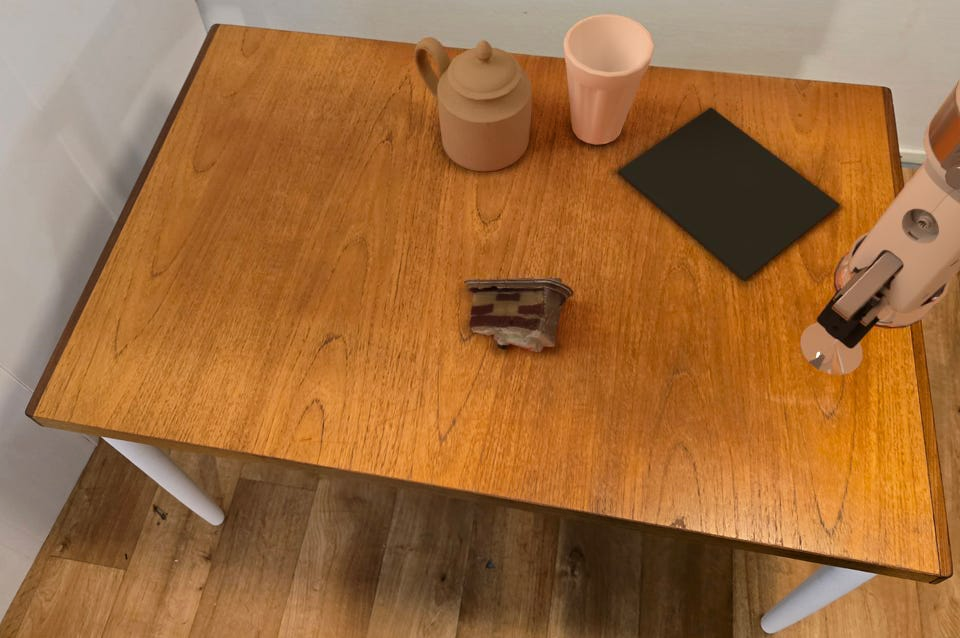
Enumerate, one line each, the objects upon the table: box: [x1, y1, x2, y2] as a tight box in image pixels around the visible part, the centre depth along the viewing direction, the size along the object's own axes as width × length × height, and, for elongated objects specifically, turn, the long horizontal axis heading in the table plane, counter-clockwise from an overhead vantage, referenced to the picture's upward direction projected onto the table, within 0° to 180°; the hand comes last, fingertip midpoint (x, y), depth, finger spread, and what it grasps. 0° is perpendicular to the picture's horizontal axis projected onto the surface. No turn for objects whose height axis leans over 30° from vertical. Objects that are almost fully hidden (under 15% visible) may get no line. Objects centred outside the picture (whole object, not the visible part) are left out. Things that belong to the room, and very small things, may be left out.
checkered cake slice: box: [462, 276, 575, 353], centre depth 78 cm, size 10×7×12 cm
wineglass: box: [800, 231, 951, 376], centre depth 56 cm, size 7×7×12 cm
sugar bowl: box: [413, 36, 533, 173], centre depth 87 cm, size 15×11×15 cm
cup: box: [563, 13, 656, 146], centre depth 88 cm, size 10×10×13 cm
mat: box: [617, 107, 840, 282], centre depth 88 cm, size 20×16×1 cm
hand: (868, 303), depth 55 cm, fingers closed on wineglass, 6 cm apart
